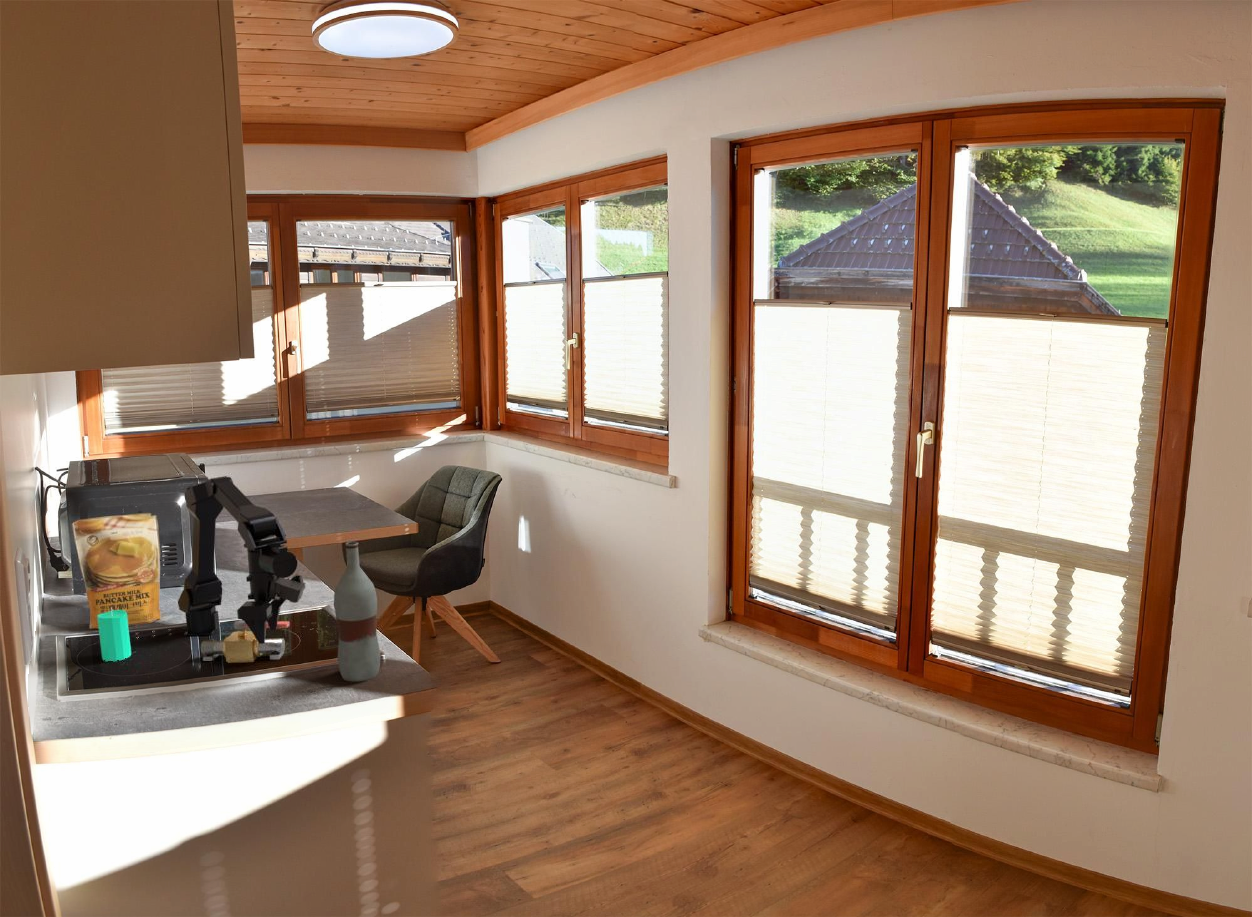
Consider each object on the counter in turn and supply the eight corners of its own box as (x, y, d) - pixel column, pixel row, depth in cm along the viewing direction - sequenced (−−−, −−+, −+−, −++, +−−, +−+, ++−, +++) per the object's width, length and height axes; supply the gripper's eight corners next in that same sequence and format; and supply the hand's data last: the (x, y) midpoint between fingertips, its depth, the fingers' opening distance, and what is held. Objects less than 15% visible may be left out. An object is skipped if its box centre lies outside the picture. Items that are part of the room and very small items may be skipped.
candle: (102, 663, 217) (96, 613, 215) (102, 654, 222) (96, 605, 220) (131, 658, 220) (125, 609, 217) (131, 649, 225) (125, 601, 223)
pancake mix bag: (85, 624, 242) (72, 517, 237) (167, 613, 250) (157, 509, 245) (82, 633, 236) (69, 524, 231) (167, 621, 244) (156, 515, 239)
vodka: (382, 679, 207) (374, 546, 201) (338, 685, 204) (329, 550, 198) (380, 663, 215) (373, 535, 210) (338, 668, 213) (329, 539, 207)
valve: (199, 663, 216) (196, 634, 215) (209, 653, 222) (206, 625, 221) (280, 661, 217) (277, 632, 216) (287, 650, 223) (285, 622, 222)
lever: (231, 629, 217) (231, 624, 217) (237, 624, 220) (237, 619, 220) (285, 629, 217) (285, 624, 216) (290, 624, 220) (290, 619, 220)
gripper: (287, 580, 201) (292, 650, 204) (311, 557, 220) (315, 621, 222) (233, 582, 201) (239, 652, 203) (262, 558, 219) (267, 623, 222)
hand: (267, 636), depth 213 cm, fingers open, 8 cm apart
